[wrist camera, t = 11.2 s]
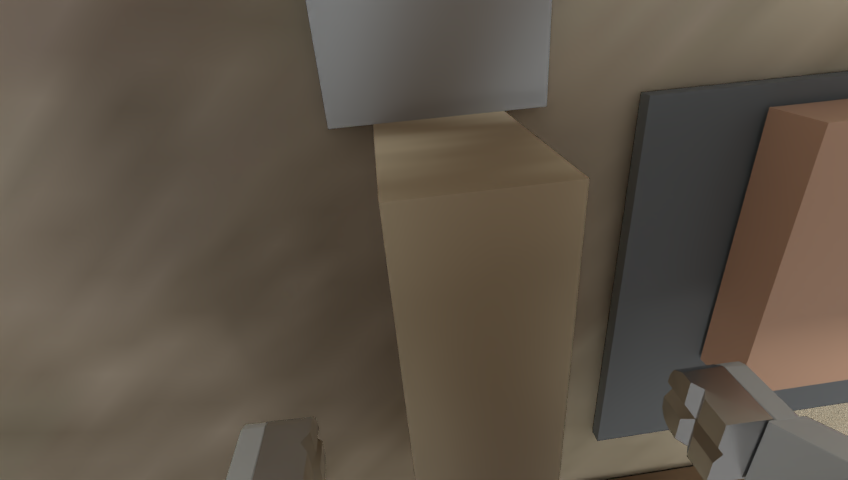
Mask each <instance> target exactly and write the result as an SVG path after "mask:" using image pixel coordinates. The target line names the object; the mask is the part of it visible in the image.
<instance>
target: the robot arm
mask: <svg viewBox="0 0 848 480" xmlns="http://www.w3.org/2000/svg"><path fill="white" fill-rule="evenodd" d="M668 383H669V385H670V386H671V387H672V389H671V390H670V391H669V392H668V393H667V394H666V395H665V396H664V400H663V405H662V409H663V415H664V420H665V422H666V424H667V426H668V429H669V430H670V432H671V433H672V435H673V436H674V438H675V439H677V440H679V441H680V442H682V443H683V444H685V445H687V446H688V447H687V457H688V458H689V459H690V461H691V462H692V464H693V465H694V467H695V468H696V470H697V471H698V472H699V474H700V475H701V477H702V478H703V480H737V479H745V480H848V436H847V435H845V434H843V433H841V432H839V431H837V430H834V429H832V428H830V427H828V426H826V425H824V424H822V423H820V422H818V421H815V420H813V419H811V418H809V417H807V416H801V417H799V416H798V415H797V414H796V413H795V412H794V411H793V410H792V409H791V408H790V407H789V406H788V405H787V404H786V403H785V402H784V401H783V400H782V399H781V398H780V397H778V396H777V395H776V394H775V393H774V392H773V391H772V390H771V389H770V388H769V387H768V386H767V385H766V384H765V383H764V382H763V381H762V380H761V379H760V378H759V377H758V376H757V375H756V374H755V373H754V372H753V371H752V370H751V369H750V368H749V367H748V366H747V365H745V364H744V363H741V362H739V361H736V362H729V363H721V364H716V365H714V364H712V365H705V366H698V367H691V368H684V369H677V370H674V371H673V372H672V373H671V374H670V376H669V380H668ZM318 431H319V426H318V423H317V420H316V417H307V418H298V419H288V420H278V421H269V422H262V423H253V424H245V426H244V427H243V428H242V430H241V431H240V435H239V438H238V441H237V444H236V448H235V451H234V454H233V458H232V461H231V464H230V467H229V471H228V474H227V477H226V480H325V478H326V458H325V450H324V446H323V441H321V440H320V439H318Z"/></svg>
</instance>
